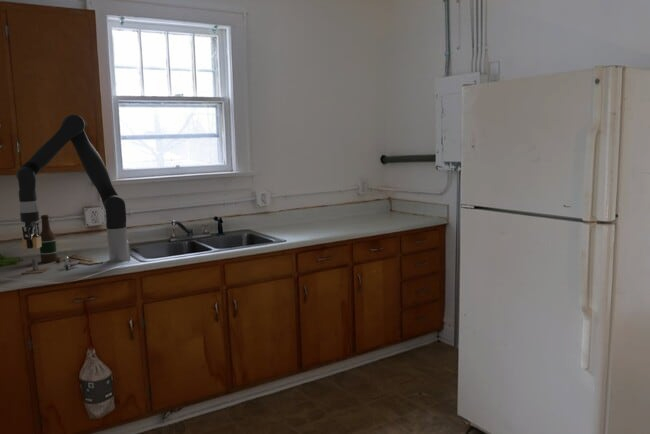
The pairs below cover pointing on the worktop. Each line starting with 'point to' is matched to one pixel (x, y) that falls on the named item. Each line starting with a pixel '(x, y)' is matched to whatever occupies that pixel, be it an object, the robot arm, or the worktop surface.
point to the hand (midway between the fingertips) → (32, 246)
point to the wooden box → (35, 268)
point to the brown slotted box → (33, 242)
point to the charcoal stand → (67, 265)
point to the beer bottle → (47, 242)
